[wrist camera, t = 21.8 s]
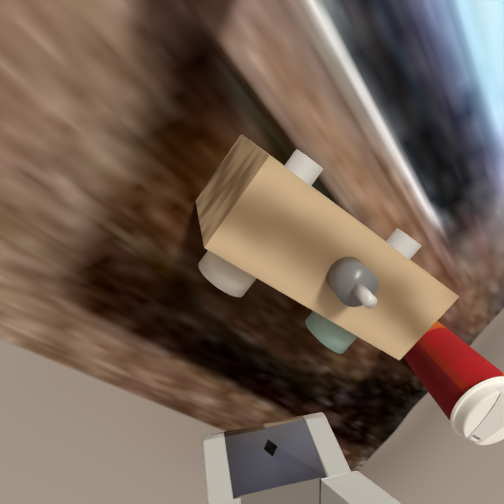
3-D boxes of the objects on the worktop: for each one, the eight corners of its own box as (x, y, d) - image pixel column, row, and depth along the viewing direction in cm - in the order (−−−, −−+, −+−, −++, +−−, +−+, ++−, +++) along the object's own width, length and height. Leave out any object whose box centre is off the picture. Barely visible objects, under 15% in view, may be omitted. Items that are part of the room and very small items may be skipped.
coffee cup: (410, 363, 54) (489, 458, 40) (371, 339, 50) (443, 434, 37) (452, 319, 52) (551, 403, 38) (415, 292, 49) (507, 373, 35)
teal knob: (332, 331, 43) (350, 360, 38) (299, 312, 41) (314, 341, 36) (410, 240, 40) (441, 260, 35) (379, 215, 38) (406, 233, 33)
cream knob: (239, 278, 38) (248, 305, 33) (196, 254, 36) (200, 279, 31) (321, 169, 35) (342, 182, 30) (279, 137, 33) (296, 146, 28)
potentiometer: (326, 294, 31) (348, 324, 27) (327, 259, 30) (350, 286, 26) (362, 288, 32) (389, 318, 28) (365, 253, 30) (393, 279, 27)
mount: (347, 296, 47) (399, 360, 36) (195, 201, 38) (204, 247, 28) (390, 245, 45) (459, 296, 34) (241, 133, 37) (269, 155, 26)
